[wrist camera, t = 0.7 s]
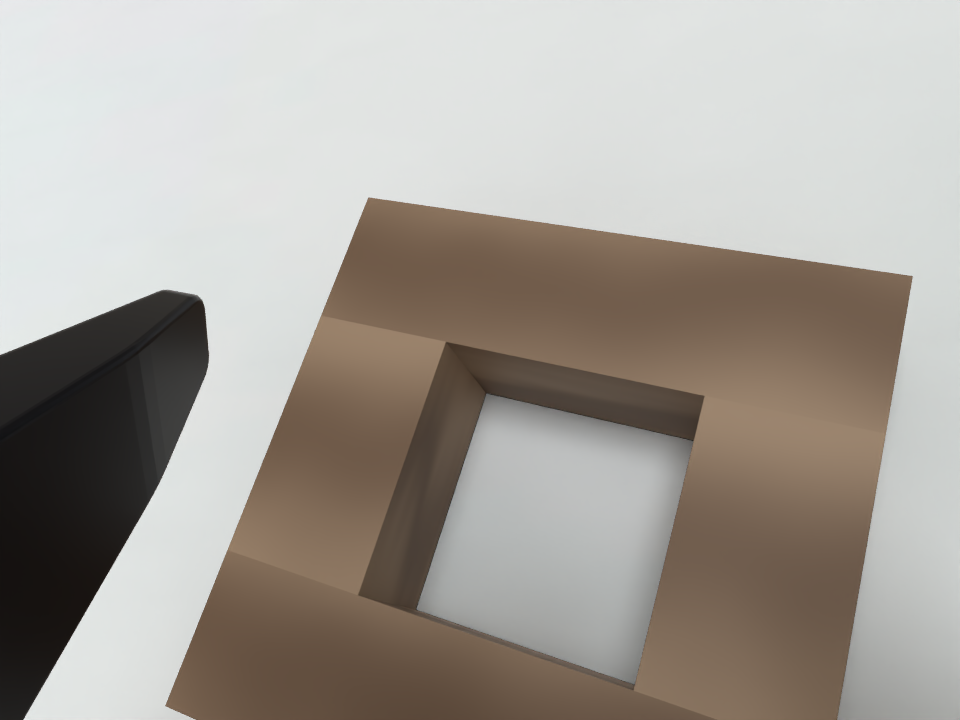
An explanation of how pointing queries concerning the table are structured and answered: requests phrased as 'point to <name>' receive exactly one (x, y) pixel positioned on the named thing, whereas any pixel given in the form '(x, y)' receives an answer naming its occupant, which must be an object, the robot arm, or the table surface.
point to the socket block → (578, 389)
